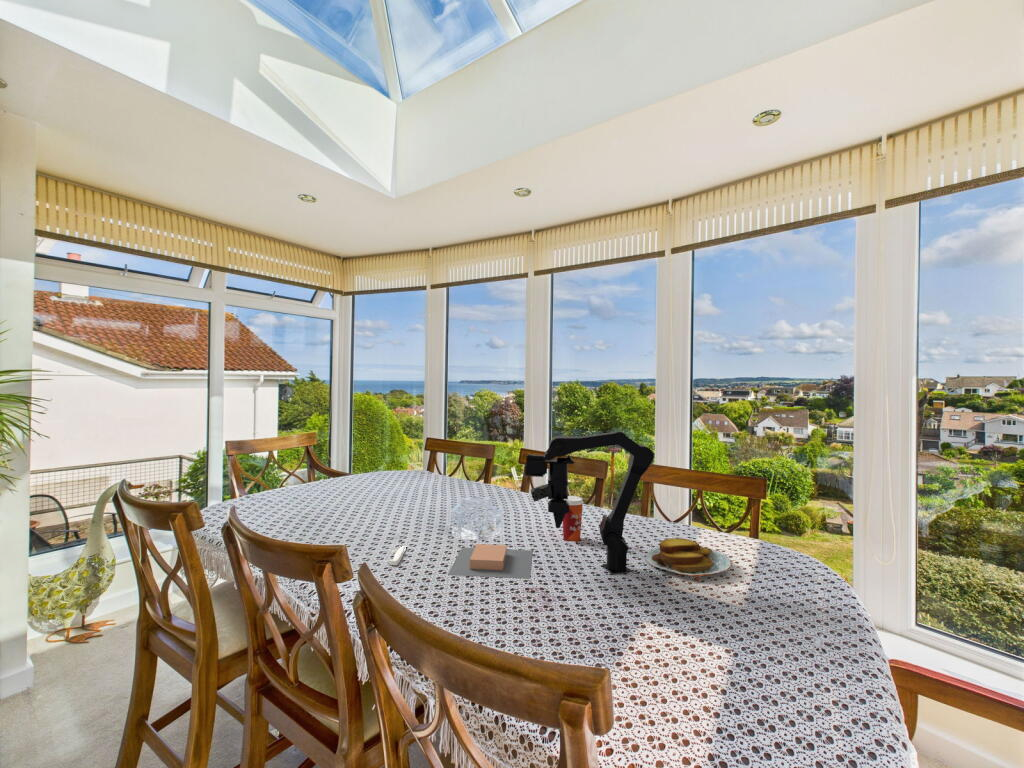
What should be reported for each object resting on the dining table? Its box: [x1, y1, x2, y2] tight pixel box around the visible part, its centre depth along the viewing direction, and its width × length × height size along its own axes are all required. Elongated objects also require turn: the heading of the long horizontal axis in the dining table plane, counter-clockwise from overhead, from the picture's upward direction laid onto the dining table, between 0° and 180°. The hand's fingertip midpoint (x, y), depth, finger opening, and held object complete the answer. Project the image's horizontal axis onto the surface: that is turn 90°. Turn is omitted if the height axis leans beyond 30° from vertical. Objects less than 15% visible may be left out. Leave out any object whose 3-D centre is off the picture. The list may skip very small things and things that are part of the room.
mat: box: [447, 547, 534, 580], centre depth 141 cm, size 24×22×1 cm
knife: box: [388, 545, 408, 566], centre depth 154 cm, size 31×6×2 cm, turn 13°
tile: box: [470, 543, 508, 571], centre depth 142 cm, size 3×13×10 cm
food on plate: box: [645, 537, 733, 582], centre depth 143 cm, size 25×25×7 cm
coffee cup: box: [562, 495, 585, 543], centre depth 165 cm, size 8×8×15 cm
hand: (557, 527), depth 140 cm, fingers closed
